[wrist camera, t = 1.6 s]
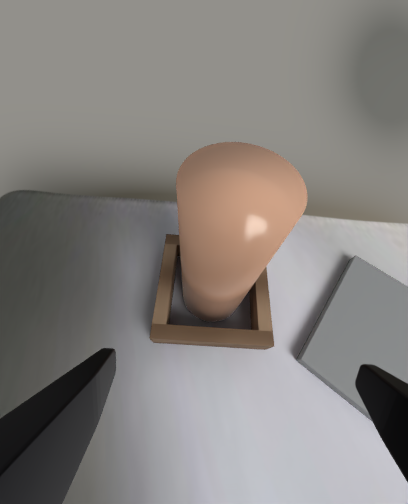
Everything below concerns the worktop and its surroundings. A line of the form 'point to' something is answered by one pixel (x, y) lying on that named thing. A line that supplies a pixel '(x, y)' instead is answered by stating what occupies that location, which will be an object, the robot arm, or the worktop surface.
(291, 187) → the tan piece
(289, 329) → the worktop surface
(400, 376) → the pad
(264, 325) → the collar
